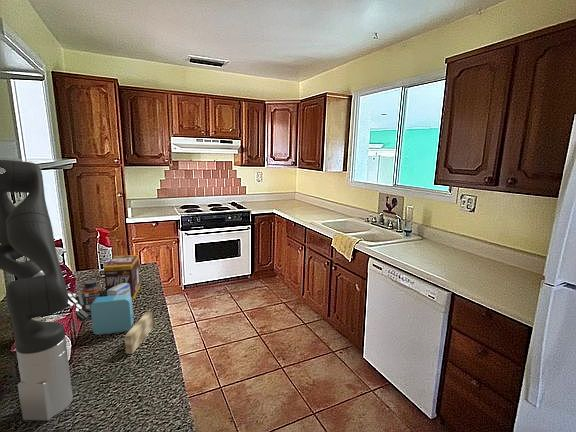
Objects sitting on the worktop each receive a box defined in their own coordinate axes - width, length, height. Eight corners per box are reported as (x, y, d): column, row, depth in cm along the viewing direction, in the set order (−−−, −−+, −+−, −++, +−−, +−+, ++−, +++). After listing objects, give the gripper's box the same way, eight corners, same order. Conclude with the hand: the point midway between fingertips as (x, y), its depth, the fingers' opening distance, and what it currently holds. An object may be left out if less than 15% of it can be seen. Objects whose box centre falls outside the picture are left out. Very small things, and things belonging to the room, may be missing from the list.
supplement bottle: (89, 313, 123) (86, 285, 121) (80, 309, 126) (77, 282, 124) (104, 306, 128) (102, 280, 126) (95, 303, 131) (92, 277, 129)
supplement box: (106, 302, 132) (103, 267, 129) (116, 287, 146) (113, 255, 144) (133, 300, 134) (130, 265, 131) (140, 286, 149) (138, 254, 146)
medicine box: (118, 311, 125) (116, 291, 123) (108, 310, 125) (106, 290, 124) (131, 302, 132) (130, 283, 130) (122, 301, 133) (120, 282, 131)
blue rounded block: (133, 324, 116) (131, 293, 113) (131, 330, 111) (129, 299, 109) (96, 328, 112) (93, 297, 110) (93, 335, 108) (89, 303, 106)
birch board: (132, 353, 99) (131, 335, 97) (125, 353, 99) (124, 335, 97) (154, 326, 114) (153, 310, 113) (148, 326, 114) (147, 310, 113)
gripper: (38, 286, 102) (80, 322, 104) (67, 271, 115) (103, 303, 117) (24, 301, 103) (66, 336, 105) (54, 285, 116) (91, 316, 118)
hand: (86, 319), depth 111 cm, fingers closed
